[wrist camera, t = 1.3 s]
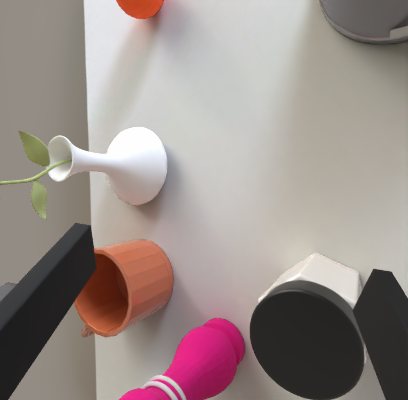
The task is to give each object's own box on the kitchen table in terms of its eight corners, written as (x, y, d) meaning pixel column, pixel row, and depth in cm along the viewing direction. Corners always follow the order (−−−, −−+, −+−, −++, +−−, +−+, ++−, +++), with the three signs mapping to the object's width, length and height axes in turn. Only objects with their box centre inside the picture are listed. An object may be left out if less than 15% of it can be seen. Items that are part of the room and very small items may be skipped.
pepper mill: (202, 363, 39) (72, 503, 22) (196, 311, 39) (63, 408, 22) (251, 374, 36) (144, 552, 18) (245, 317, 36) (133, 438, 18)
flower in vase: (119, 128, 45) (-107, 72, 24) (177, 130, 40) (-46, 58, 18) (113, 209, 47) (-107, 226, 25) (169, 221, 41) (-50, 257, 19)
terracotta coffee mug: (136, 224, 44) (90, 231, 37) (186, 273, 40) (146, 292, 33) (99, 293, 49) (52, 311, 41) (141, 343, 45) (96, 374, 37)
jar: (271, 302, 34) (230, 352, 24) (296, 241, 32) (265, 267, 22) (348, 347, 30) (340, 432, 20) (382, 281, 28) (393, 334, 18)
